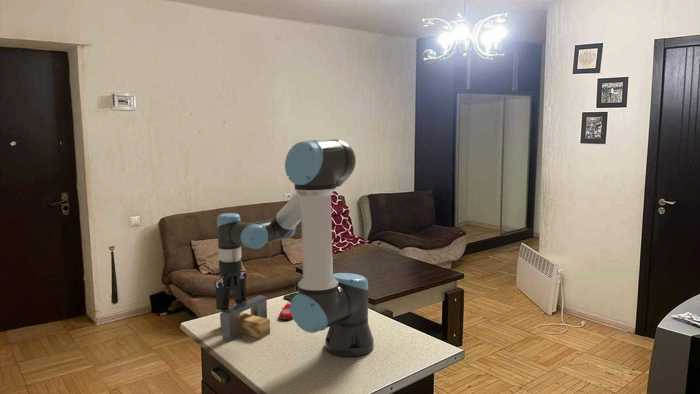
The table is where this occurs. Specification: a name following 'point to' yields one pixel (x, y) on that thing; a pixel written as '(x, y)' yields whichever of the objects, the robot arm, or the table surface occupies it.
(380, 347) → the table surface
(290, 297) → the phone
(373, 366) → the table surface
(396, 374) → the table surface
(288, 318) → the race car
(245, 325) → the tan long block
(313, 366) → the table surface
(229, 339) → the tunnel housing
